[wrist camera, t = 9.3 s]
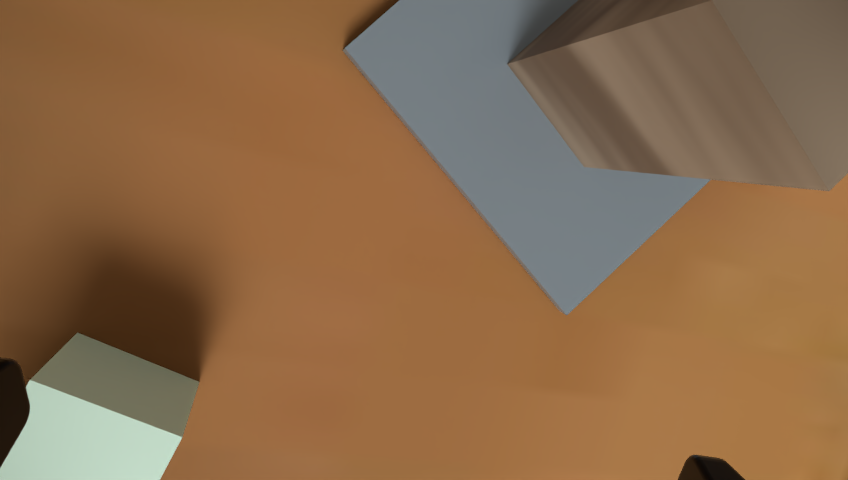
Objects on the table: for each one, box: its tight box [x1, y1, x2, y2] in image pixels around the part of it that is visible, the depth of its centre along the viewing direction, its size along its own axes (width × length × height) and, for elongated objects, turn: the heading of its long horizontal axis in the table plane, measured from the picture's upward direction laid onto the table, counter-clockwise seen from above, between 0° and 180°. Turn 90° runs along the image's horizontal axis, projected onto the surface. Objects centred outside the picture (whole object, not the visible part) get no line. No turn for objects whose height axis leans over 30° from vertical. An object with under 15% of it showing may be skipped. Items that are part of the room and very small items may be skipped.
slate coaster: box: [343, 0, 711, 315], centre depth 22 cm, size 12×12×1 cm
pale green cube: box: [0, 333, 199, 480], centre depth 18 cm, size 4×4×4 cm
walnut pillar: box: [507, 0, 848, 191], centre depth 16 cm, size 4×4×10 cm
